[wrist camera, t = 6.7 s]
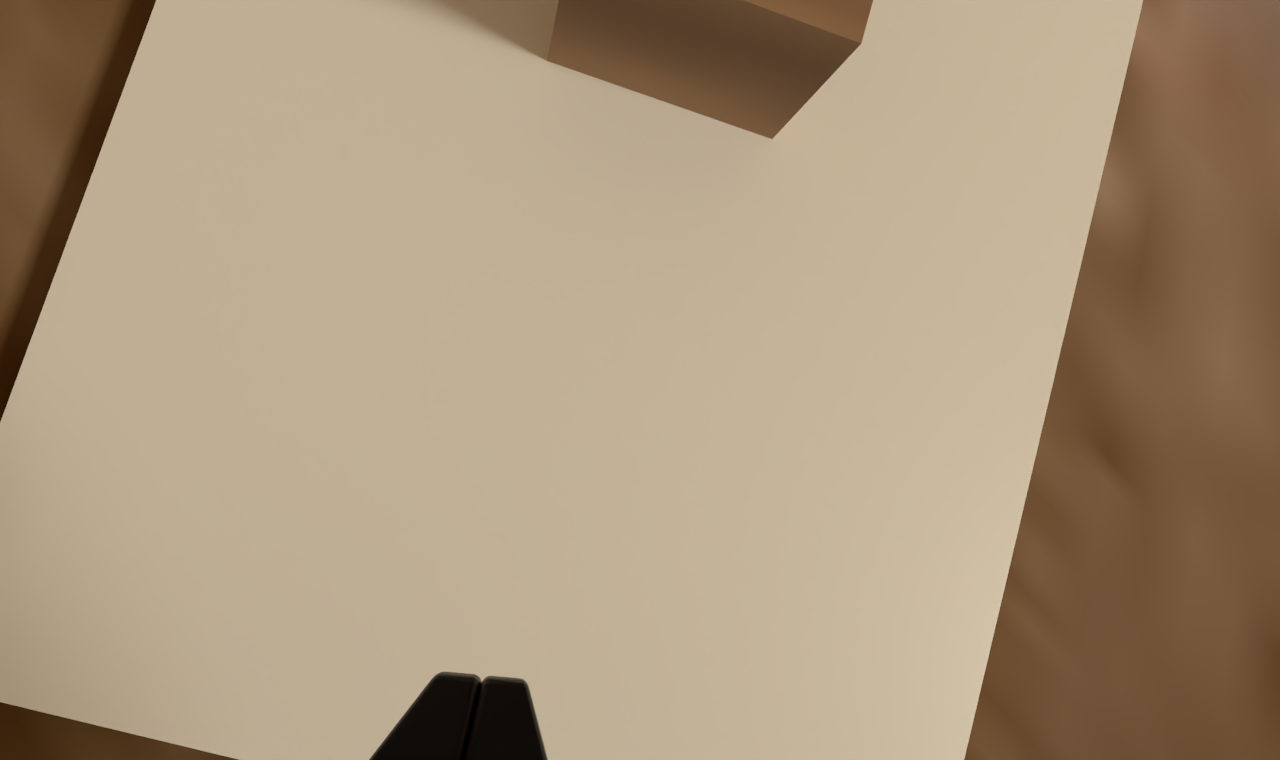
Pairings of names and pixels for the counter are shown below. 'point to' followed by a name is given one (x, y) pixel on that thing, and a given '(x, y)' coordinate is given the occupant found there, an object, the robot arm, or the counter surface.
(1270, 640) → the counter surface
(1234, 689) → the counter surface
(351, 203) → the cutting board
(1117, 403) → the counter surface
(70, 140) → the counter surface
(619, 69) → the walnut block
